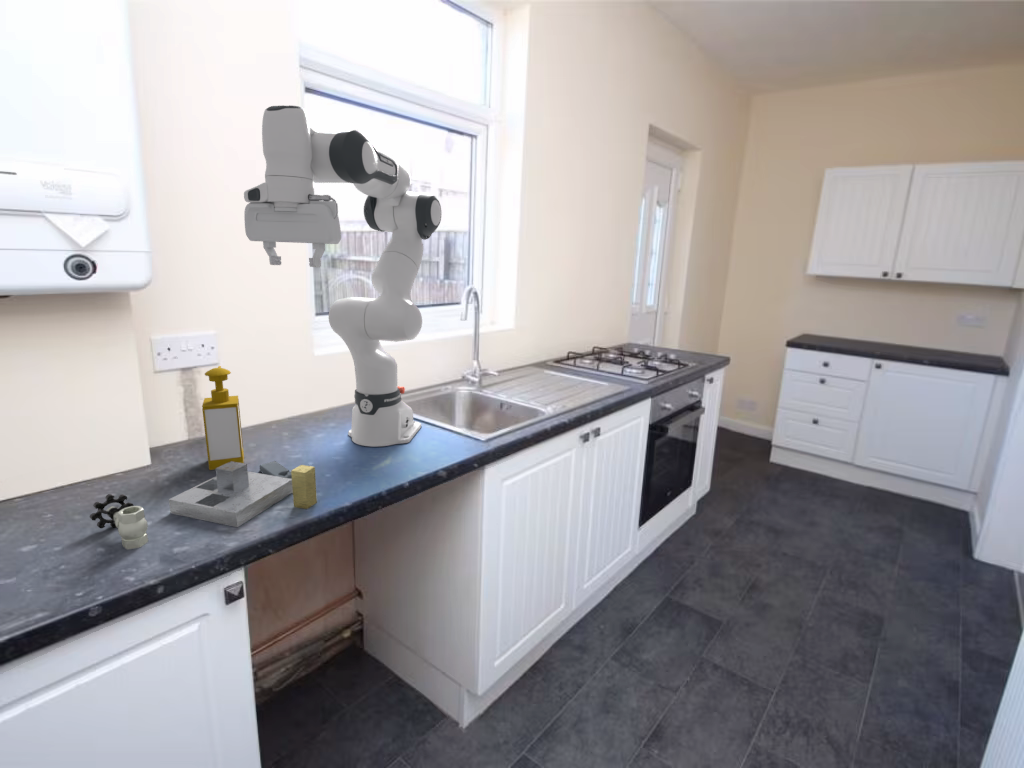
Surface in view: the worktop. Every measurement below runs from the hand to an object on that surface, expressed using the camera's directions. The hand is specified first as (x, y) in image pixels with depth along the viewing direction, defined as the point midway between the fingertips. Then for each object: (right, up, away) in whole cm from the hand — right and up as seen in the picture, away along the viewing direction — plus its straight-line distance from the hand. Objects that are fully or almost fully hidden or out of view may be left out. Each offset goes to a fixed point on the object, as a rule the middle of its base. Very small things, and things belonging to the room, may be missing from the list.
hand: (295, 266), depth 108 cm
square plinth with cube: (-13, -49, +1) cm, 50 cm away
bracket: (-10, -46, +15) cm, 49 cm away
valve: (-25, -52, -12) cm, 59 cm away
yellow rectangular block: (+1, -49, +2) cm, 49 cm away
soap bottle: (-26, -43, +23) cm, 55 cm away
